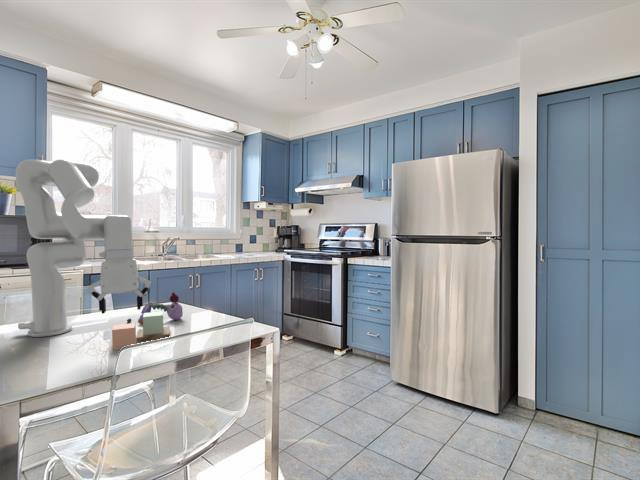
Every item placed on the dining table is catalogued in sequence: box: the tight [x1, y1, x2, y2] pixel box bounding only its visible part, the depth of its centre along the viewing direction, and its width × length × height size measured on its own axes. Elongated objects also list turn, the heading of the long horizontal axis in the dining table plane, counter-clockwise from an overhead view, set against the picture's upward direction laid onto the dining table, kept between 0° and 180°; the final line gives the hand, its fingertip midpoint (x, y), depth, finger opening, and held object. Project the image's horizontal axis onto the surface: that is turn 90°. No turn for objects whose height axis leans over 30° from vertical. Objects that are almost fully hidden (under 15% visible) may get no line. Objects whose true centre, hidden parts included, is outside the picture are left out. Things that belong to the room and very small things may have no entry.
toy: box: [137, 291, 184, 325], centre depth 144 cm, size 10×15×15 cm
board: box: [136, 326, 171, 343], centre depth 123 cm, size 10×10×2 cm
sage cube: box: [142, 310, 164, 335], centre depth 123 cm, size 6×6×6 cm
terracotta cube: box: [111, 322, 137, 350], centre depth 114 cm, size 6×6×6 cm
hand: (121, 310), depth 113 cm, fingers open, 9 cm apart
